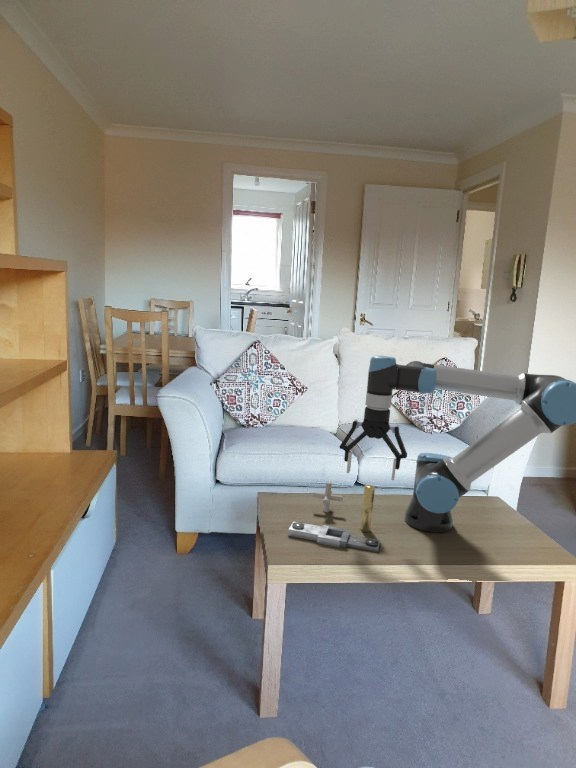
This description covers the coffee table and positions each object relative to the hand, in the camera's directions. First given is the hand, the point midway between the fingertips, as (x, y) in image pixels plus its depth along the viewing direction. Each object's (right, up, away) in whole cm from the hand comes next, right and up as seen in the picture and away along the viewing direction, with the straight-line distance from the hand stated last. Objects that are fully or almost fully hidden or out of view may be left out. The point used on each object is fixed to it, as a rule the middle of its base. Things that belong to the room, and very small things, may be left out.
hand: (370, 475), depth 161 cm
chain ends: (-12, -18, -6) cm, 22 cm away
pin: (-1, -17, +3) cm, 18 cm away
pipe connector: (-12, -15, +15) cm, 24 cm away
